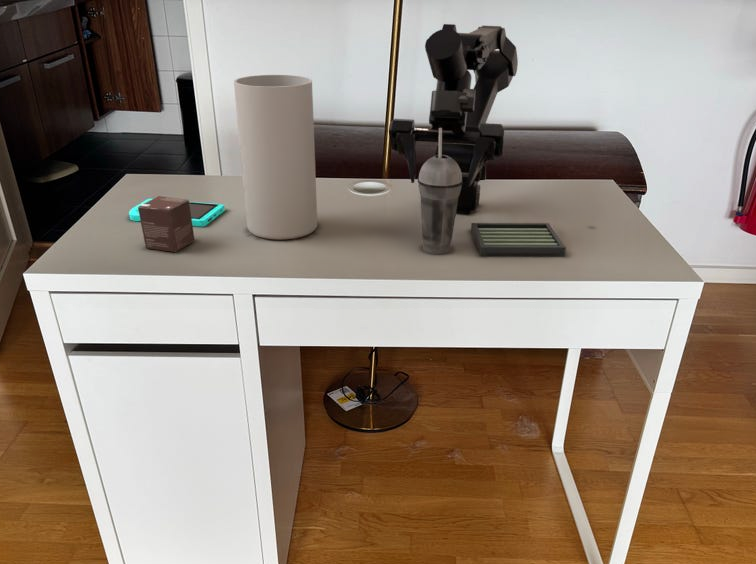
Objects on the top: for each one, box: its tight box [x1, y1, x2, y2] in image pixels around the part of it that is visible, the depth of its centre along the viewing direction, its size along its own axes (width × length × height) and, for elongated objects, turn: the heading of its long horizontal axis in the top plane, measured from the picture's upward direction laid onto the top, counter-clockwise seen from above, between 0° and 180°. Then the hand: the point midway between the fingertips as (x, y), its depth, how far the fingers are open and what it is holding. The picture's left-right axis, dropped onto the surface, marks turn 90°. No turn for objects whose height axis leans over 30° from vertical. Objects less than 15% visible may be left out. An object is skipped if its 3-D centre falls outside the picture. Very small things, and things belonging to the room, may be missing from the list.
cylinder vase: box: [233, 74, 318, 241], centre depth 117 cm, size 12×12×25 cm
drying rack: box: [470, 222, 567, 257], centre depth 118 cm, size 14×12×2 cm
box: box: [138, 195, 196, 253], centre depth 114 cm, size 6×6×7 cm
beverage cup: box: [417, 128, 463, 255], centre depth 111 cm, size 7×7×20 cm
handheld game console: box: [128, 198, 226, 228], centre depth 129 cm, size 10×16×1 cm, turn 78°
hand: (440, 183), depth 111 cm, fingers open, 9 cm apart
